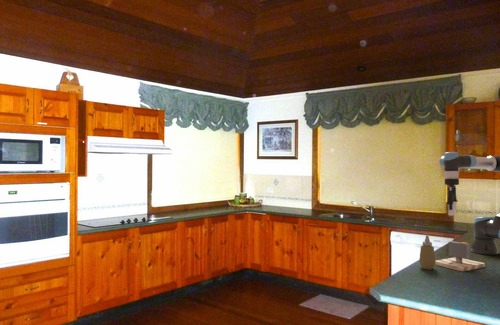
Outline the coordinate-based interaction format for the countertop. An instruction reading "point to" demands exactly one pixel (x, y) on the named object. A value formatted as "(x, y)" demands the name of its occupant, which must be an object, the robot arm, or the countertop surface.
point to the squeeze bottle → (427, 255)
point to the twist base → (459, 264)
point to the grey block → (459, 249)
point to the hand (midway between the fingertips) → (452, 214)
